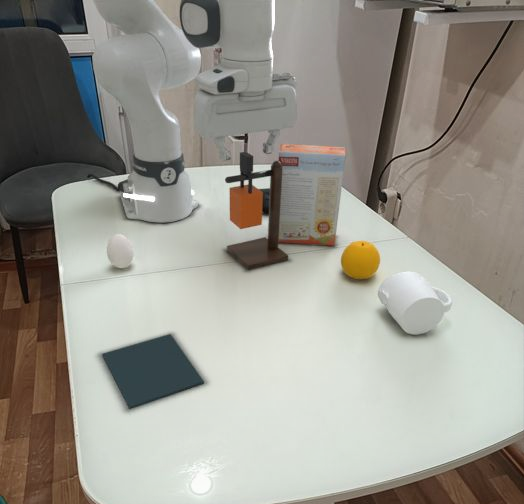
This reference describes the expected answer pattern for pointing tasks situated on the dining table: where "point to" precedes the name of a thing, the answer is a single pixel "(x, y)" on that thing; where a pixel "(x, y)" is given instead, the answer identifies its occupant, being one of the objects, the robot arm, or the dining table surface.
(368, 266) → the orange round ball
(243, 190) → the tall orange prism
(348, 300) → the dining table surface
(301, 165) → the cracker box
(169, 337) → the mat
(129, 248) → the egg
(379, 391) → the dining table surface
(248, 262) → the hook stand
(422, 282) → the mug
